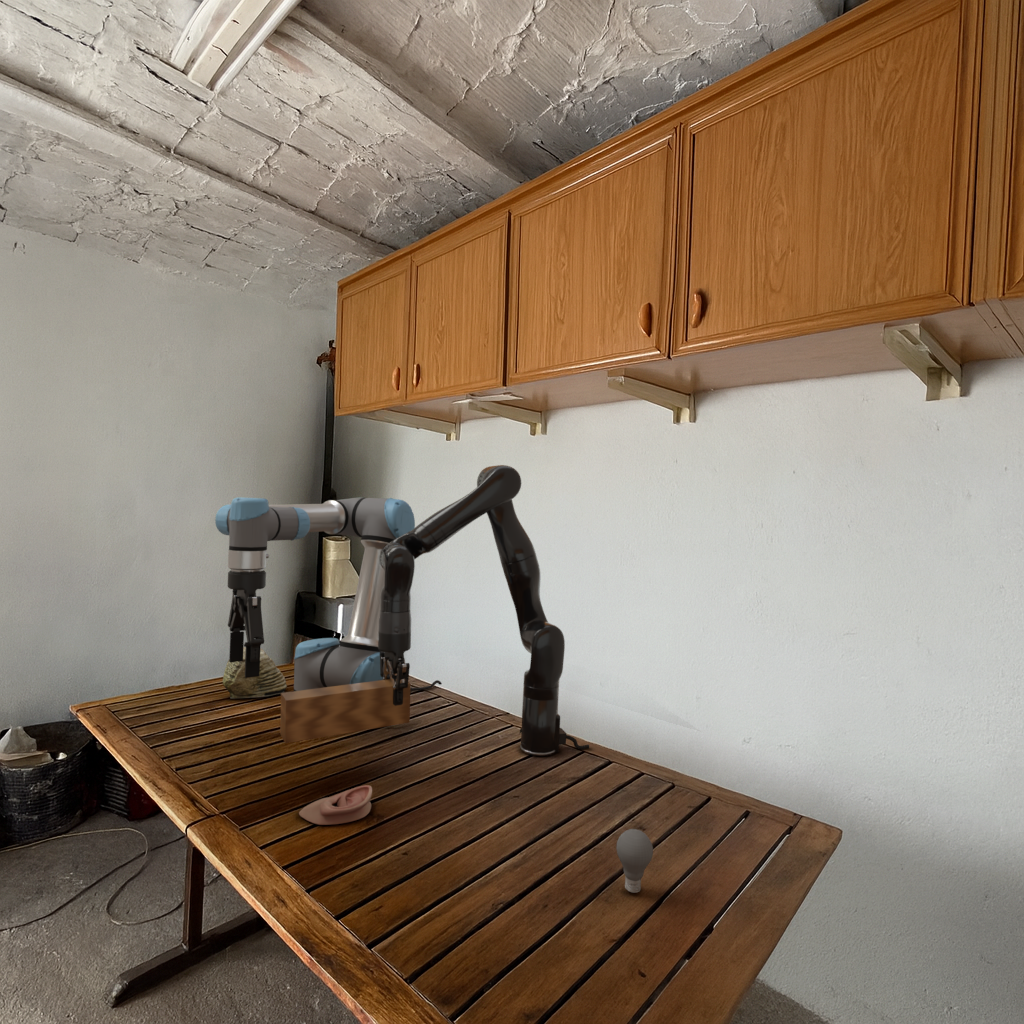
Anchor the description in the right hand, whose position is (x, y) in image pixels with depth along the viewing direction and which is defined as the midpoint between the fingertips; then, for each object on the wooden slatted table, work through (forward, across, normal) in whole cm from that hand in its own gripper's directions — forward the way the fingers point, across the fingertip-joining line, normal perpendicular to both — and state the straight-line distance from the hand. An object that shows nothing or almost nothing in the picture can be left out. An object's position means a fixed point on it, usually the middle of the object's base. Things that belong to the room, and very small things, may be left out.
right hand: (393, 700), depth 148 cm
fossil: (+16, +69, +20) cm, 74 cm away
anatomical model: (+16, -15, +17) cm, 28 cm away
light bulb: (+17, -62, -20) cm, 67 cm away
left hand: (-10, +4, +32) cm, 34 cm away
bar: (+5, 0, +11) cm, 12 cm away
